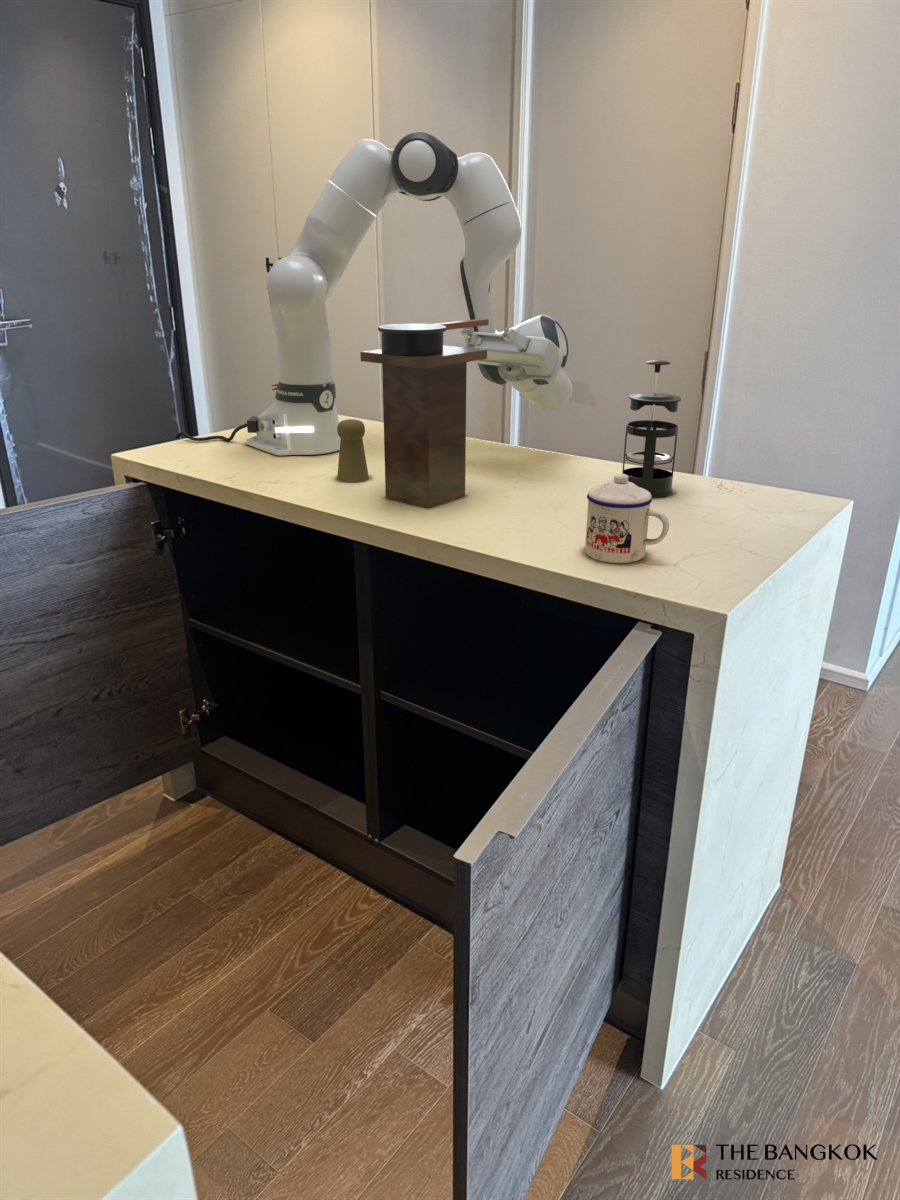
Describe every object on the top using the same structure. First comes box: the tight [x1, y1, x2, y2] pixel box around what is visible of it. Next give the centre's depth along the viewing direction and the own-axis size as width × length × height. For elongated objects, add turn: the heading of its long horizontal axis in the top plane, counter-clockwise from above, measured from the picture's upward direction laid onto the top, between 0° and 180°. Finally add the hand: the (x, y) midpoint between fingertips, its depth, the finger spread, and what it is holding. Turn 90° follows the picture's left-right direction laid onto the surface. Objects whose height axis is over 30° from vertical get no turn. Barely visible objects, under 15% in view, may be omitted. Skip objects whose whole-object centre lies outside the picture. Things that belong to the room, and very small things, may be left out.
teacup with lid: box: [584, 473, 670, 564], centre depth 122 cm, size 12×9×12 cm
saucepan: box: [377, 319, 489, 356], centre depth 145 cm, size 11×25×4 cm, turn 141°
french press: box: [621, 359, 682, 499], centre depth 152 cm, size 12×9×23 cm
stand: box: [359, 344, 487, 509], centre depth 147 cm, size 14×16×25 cm
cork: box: [336, 418, 370, 483], centre depth 162 cm, size 6×6×11 cm
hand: (485, 330), depth 154 cm, fingers open, 8 cm apart
